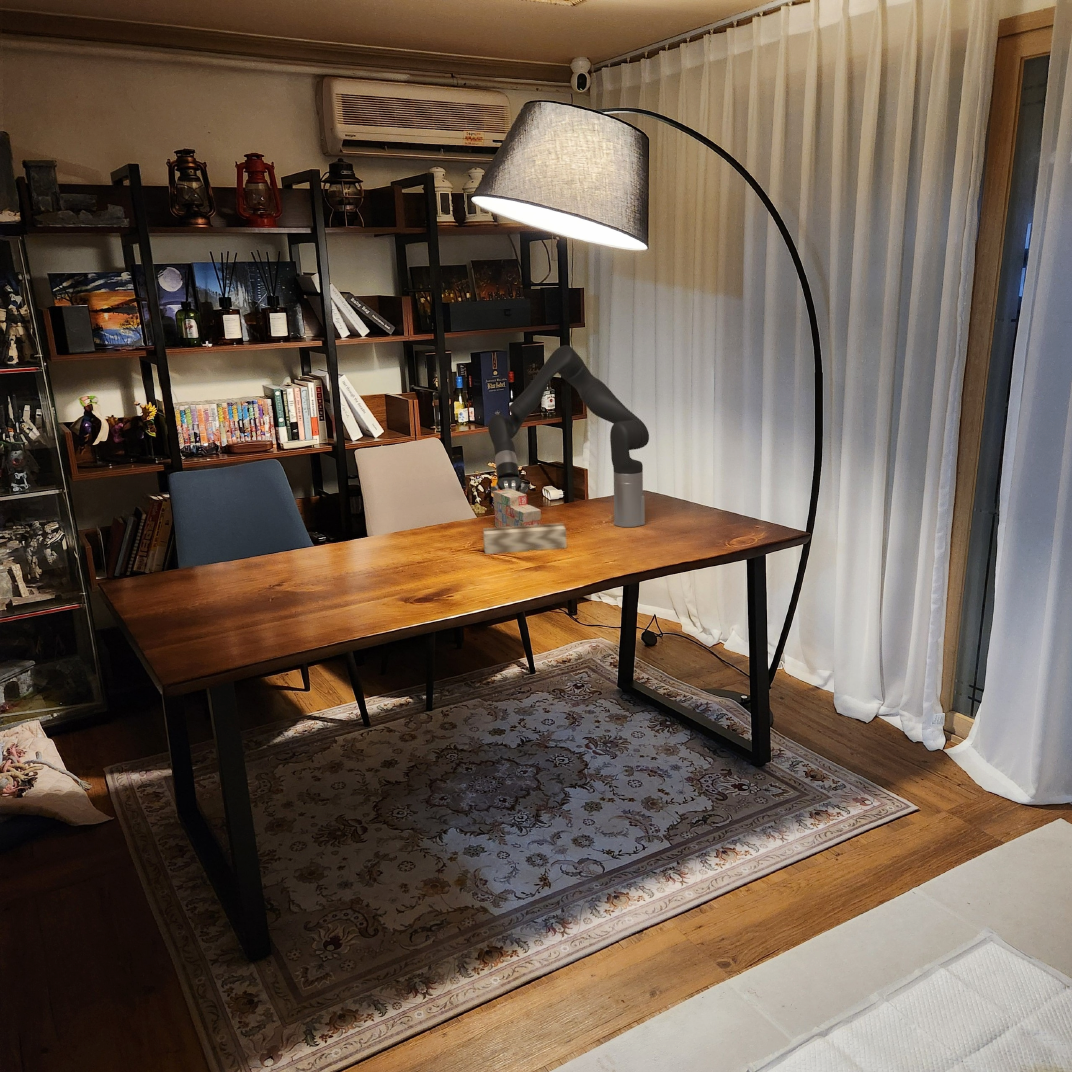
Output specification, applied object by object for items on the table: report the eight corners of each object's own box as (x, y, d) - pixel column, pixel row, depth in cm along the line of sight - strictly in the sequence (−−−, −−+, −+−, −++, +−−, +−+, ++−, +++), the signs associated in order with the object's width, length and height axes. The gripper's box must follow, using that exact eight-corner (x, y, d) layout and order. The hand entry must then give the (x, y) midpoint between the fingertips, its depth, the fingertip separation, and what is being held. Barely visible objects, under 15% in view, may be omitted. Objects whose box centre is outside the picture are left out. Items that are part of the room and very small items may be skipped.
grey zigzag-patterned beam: (563, 543, 277) (563, 522, 275) (566, 548, 272) (565, 526, 270) (484, 549, 274) (482, 528, 272) (485, 554, 269) (484, 532, 268)
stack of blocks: (542, 539, 284) (540, 500, 280) (523, 542, 281) (522, 502, 278) (512, 524, 302) (510, 487, 299) (494, 527, 299) (492, 490, 296)
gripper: (525, 472, 314) (532, 515, 306) (487, 474, 313) (492, 518, 304) (527, 459, 308) (533, 503, 299) (487, 462, 306) (492, 506, 298)
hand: (512, 511), depth 302 cm, fingers closed
